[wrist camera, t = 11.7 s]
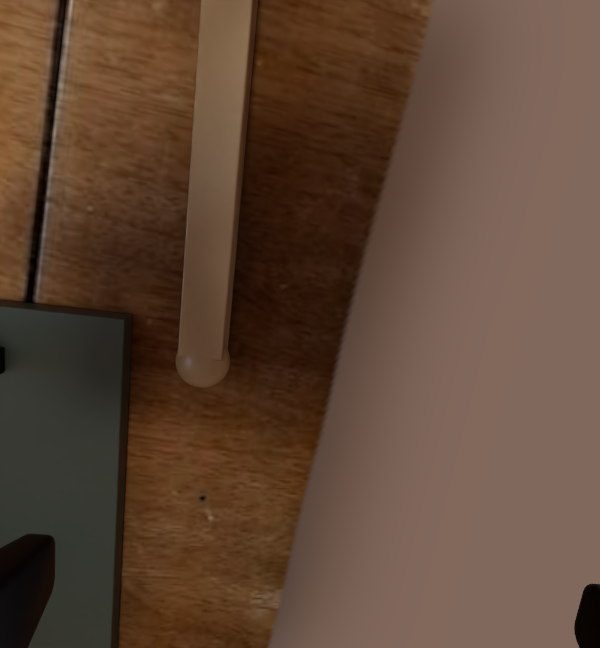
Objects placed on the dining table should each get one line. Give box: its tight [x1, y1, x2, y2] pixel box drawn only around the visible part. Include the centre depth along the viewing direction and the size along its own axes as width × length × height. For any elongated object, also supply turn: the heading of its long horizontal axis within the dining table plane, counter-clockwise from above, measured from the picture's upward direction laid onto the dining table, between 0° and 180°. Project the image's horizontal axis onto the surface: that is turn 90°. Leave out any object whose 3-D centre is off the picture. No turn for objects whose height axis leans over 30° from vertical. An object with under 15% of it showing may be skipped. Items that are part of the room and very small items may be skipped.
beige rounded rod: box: [175, 0, 258, 388], centre depth 17 cm, size 2×19×2 cm, turn 173°
